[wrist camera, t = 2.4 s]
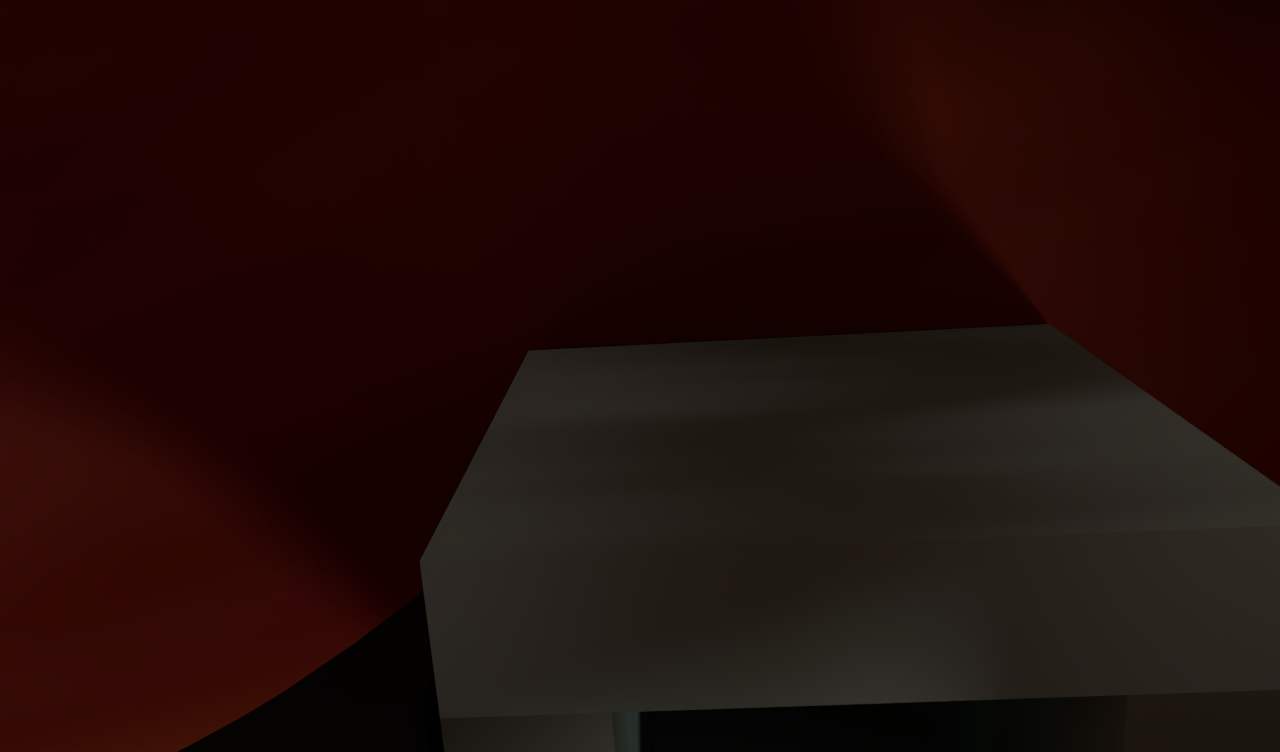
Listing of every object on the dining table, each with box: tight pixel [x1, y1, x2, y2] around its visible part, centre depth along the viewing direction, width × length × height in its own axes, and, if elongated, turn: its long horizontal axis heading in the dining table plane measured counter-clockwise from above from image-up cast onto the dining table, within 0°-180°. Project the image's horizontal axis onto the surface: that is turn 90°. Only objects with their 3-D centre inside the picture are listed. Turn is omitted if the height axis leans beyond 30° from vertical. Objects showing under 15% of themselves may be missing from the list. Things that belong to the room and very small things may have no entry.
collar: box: [420, 324, 1280, 752], centre depth 10 cm, size 5×5×5 cm
